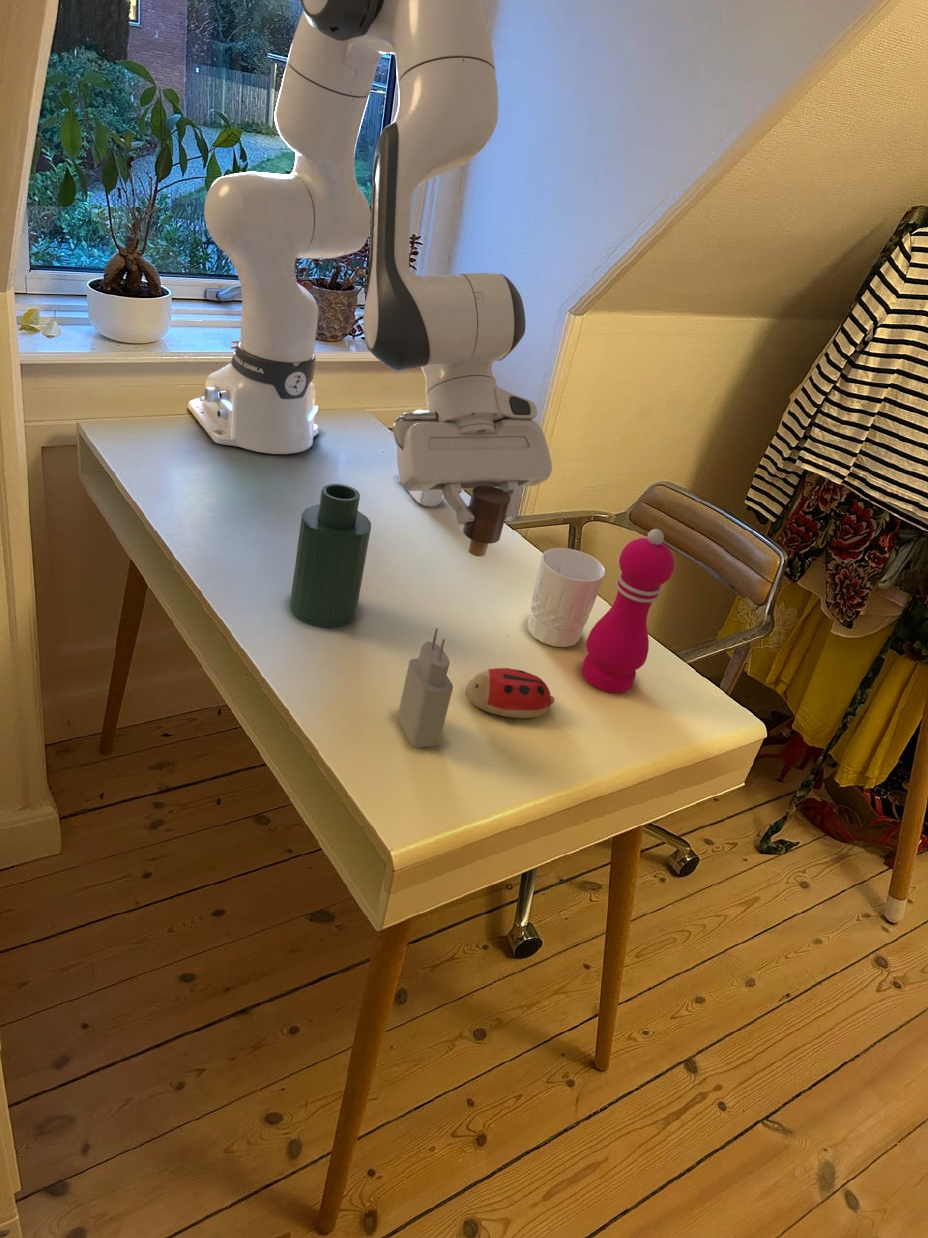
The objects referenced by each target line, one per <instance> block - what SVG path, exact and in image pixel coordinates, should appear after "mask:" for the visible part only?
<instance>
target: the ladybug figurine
mask: <svg viewBox="0 0 928 1238" xmlns="http://www.w3.org/2000/svg"><path fill="white" fill-rule="evenodd" d="M464 692H465V695H466V698H467V700H468V701H469V702H470V703H471V704H472V705H474V706H475V707H477V708H478V709H480V710H482V711H485V712H487V713H489V714H492V715H496V716H499V717H506V718H513V719H531V718H537V717H541V716H543V715H544V714H546V713H547V712H548V711H549V710H550V709H551V708H552V707H551V706H552V705H553V704H554V703H555V697H554V696H552V695H551V692H550V689H549V687H548V686H547V684H546V683H545V681H544V680H543V679H541V677H539V676H537V675H536V674H532V673H531V672H527V671H525V670H521V669H517V668H516V669H515V668H508V667H497V668H496V667H495V668H488V669H484V670H482V671H480V672H478V673H477V674H475V675H474V676H473V677H472V678H471V679H470V680H469V681H468V683H467V685H466V686H465V690H464Z"/></svg>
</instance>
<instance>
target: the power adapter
mask: <svg viewBox="0 0 928 1238" xmlns="http://www.w3.org/2000/svg"><path fill="white" fill-rule="evenodd" d="M438 631H439V628H438V627H436V628H435V630H434V633H433V637H432V641H429V640H427V641H425V642H423V644H422V645H421V648H420V652H419V657H418V658H417V657H416V658H411V659H410V660H409V661H408V666H407V671H406V675H405V680H404V685H403V690H402V693H401V697H400V698H401V699H400V704H399V708H398V712H397V721H398V723H399V725H400V727H401V728H402V731H403V733H404V734H405V736H406V738H407V740H408V741H409V743H410V745H411V746H412V747H414V748H417V749H421V748H423V749H424V748H432V747H437V746H438V745H439V744H440V742H441V738H442V734H443V730H444V726H445V721H446V717H447V714H448V709H449V706H450V701H451V697H452V693H453V689H454V685H453V682H452V681H451V680H450V677H449V676H448V671H449V667H450V663H451V660H450V658H449V657H448V655H447V654H446V652H445V651H444V646H445V642H446V638H442V639H441V644H440V645H439V644H438V643H436V641H437V636H438Z"/></svg>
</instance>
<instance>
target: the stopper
mask: <svg viewBox="0 0 928 1238" xmlns="http://www.w3.org/2000/svg"><path fill="white" fill-rule="evenodd" d="M509 501H510V496H509V495H508V494H507V493H506V492H505V491H503V490H501V489H499V487H492V486H477V487H475V488H472V491H471V495H470V499H469V504H468V506H472V507H473V511H474V512H473V514H474V515H475V521H474V522H471V523H470V524H463V528H462V533H463V535H464V536H465V537H467V539H470V541H469V544H468V549H467V551H468V553H469V554H470V555H471V556H475V557H484V556H486V554H487V550H488V548H489V547H488V546H489V544H496V543H498V542H499V541H500V538H501V535H502V532H503V527H504V524H505V521H504V520H505V517H506V513H507V509H508V505H509Z"/></svg>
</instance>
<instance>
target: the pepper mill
mask: <svg viewBox="0 0 928 1238" xmlns="http://www.w3.org/2000/svg"><path fill="white" fill-rule="evenodd" d="M664 540H665V534H664V533H663V531H662V530H660V529H658V528H653V529H651V530H650V531H648V534H647V537H640V538H636V539H633V540H631V541H629V542H628V543H627V544H626V545H625V546H624V548H623V549H622V551H621V553H620V555H619V560H618V564H619V569H620V571H621V572H620V573H619V574H617V580H616V582H615V588H616V590H617V592H616V597H615V599H614V602H613V603H612V606H611V607H610V608H609V610H608V611H607V612H606V613H605V614H604V615H603V616H602V617H601V618H600V619H599V620H598V621H597V622H596V623H595V624H594V625H593V627H592V628H591V630H589V631H590V632H589V634H588V636H587V638H586V640H585V641H586V643H585V647H586V651H587V655H585V658H584V660H583V663H582V666H581V675H582V678H583V679H584V680H585V682H587V683H588V684H589V685H591V686H592V687H594V688H595V689H597V690H599V691H601V692H602V691H603V692H606V693H610V694H622V693H625V692H627V691H629V690H630V689H632V687H633V684H634V681H635V679H636V676H637V672H636V671H637V670H638V669H641V667H643V666H644V665H645V663H646V661H647V658H648V655H649V647H650V646H649V645H650V640H649V634H648V624H647V620H648V614H649V611H650V608H651V606H652V604H653V602H656V601H657V600H658V599H659V598H660V593H661V592H662V585H664V584H665V583H667V582H668V581H669V580H670V579H671V577H672V575H673V573H674V569H675V558H674V555H673V552H672V551H671V550H670V548H669V547H668V546H667V545H665V544H664V543H663V542H664Z"/></svg>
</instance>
